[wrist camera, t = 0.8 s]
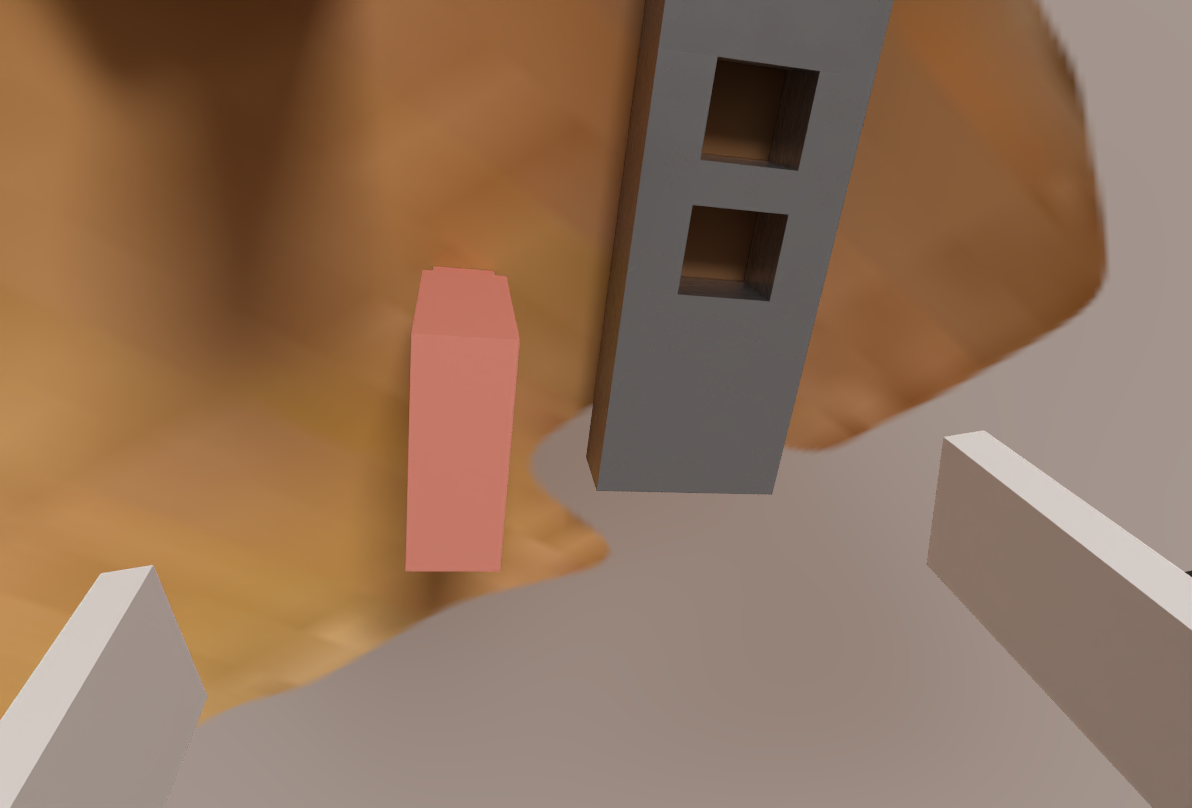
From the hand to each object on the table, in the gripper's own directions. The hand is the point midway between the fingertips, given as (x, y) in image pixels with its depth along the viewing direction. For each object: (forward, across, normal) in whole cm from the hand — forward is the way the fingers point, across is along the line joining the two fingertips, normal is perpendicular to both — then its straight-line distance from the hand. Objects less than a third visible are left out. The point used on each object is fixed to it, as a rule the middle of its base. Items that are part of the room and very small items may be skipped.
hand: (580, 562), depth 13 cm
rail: (+20, +9, +3) cm, 22 cm away
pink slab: (+20, -2, -3) cm, 20 cm away
